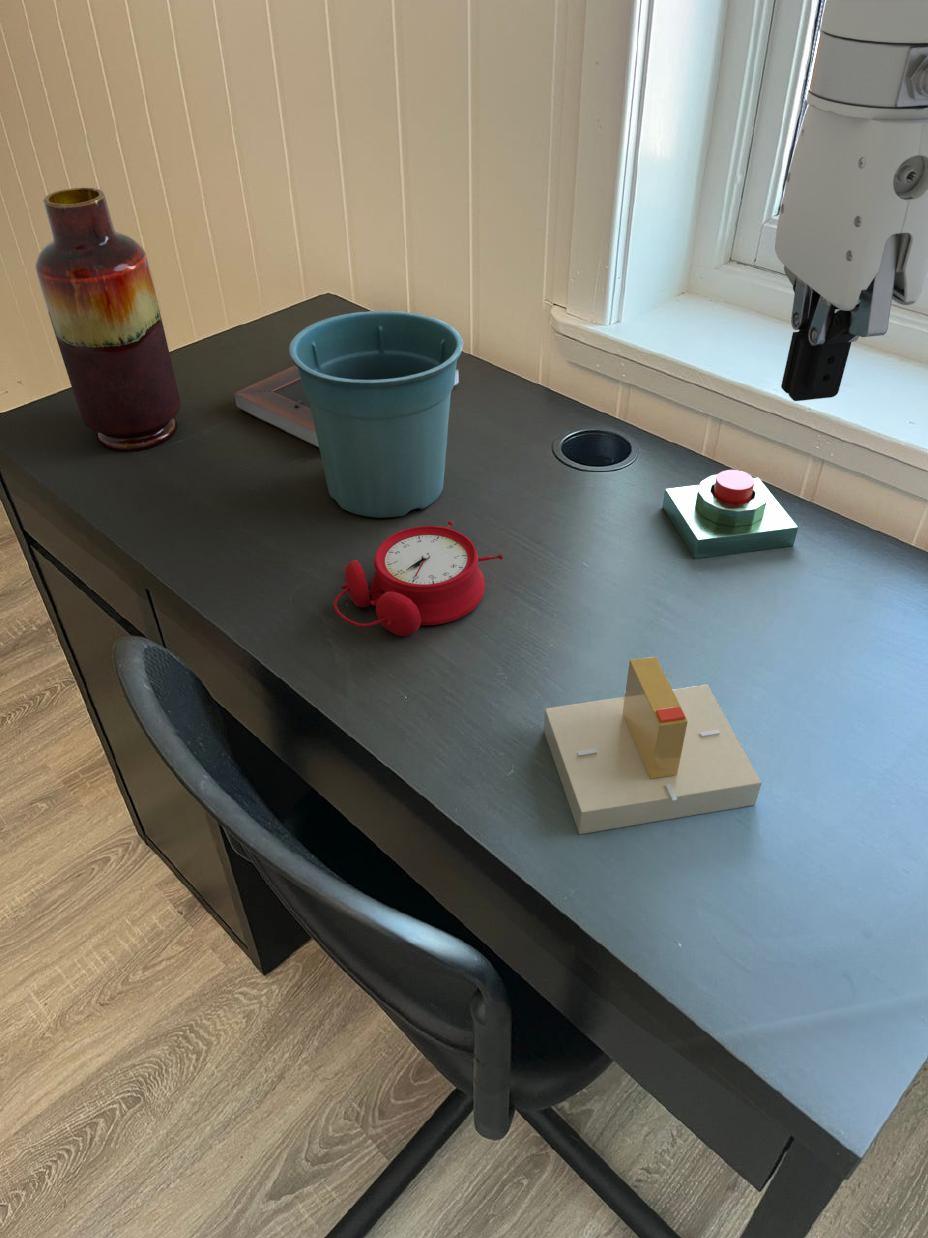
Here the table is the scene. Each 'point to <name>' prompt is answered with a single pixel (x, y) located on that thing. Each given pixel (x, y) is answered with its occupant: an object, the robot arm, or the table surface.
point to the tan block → (654, 717)
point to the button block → (728, 520)
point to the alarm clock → (419, 579)
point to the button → (733, 487)
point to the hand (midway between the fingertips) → (808, 392)
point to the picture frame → (283, 403)
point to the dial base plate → (617, 778)
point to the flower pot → (380, 406)
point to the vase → (107, 323)
